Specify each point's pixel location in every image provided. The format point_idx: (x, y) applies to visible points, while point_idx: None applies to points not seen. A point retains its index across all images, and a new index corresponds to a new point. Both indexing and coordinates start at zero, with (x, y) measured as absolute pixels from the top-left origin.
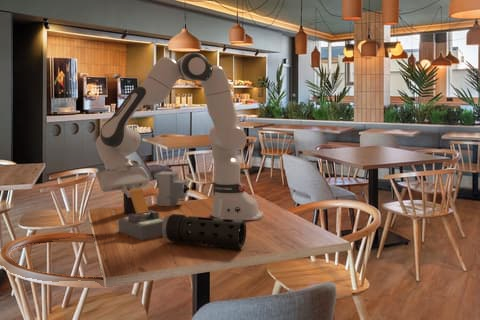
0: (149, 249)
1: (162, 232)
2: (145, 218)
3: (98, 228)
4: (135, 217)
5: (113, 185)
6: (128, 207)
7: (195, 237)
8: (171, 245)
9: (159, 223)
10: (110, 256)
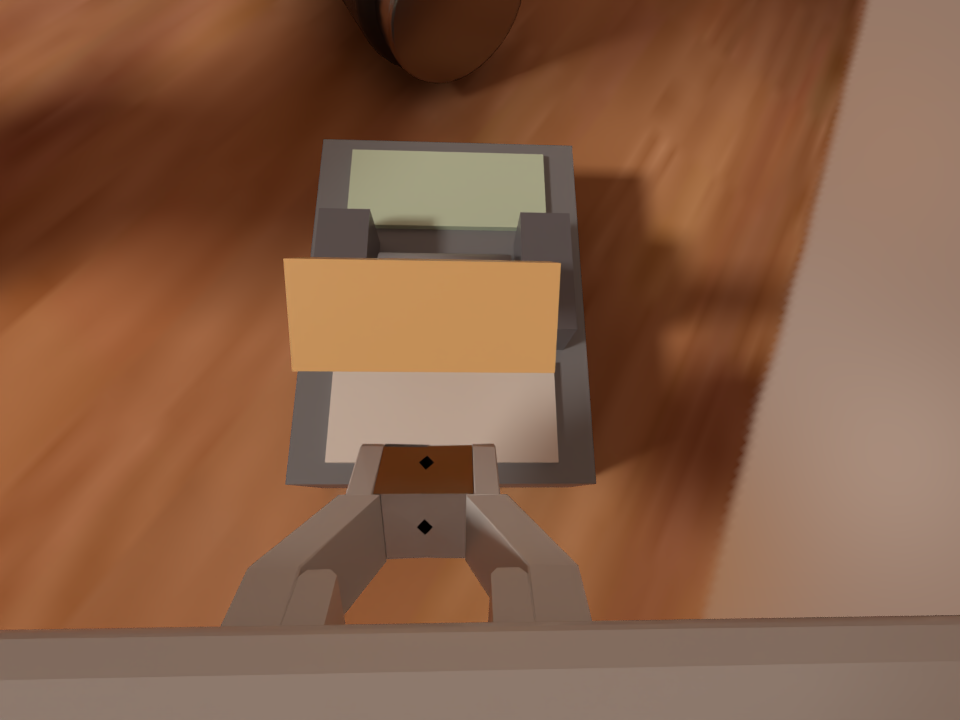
0: (602, 64)
1: (519, 5)
2: None
3: None
4: (566, 218)
5: (923, 627)
6: None
7: None
8: None
9: (414, 144)
10: (805, 97)
